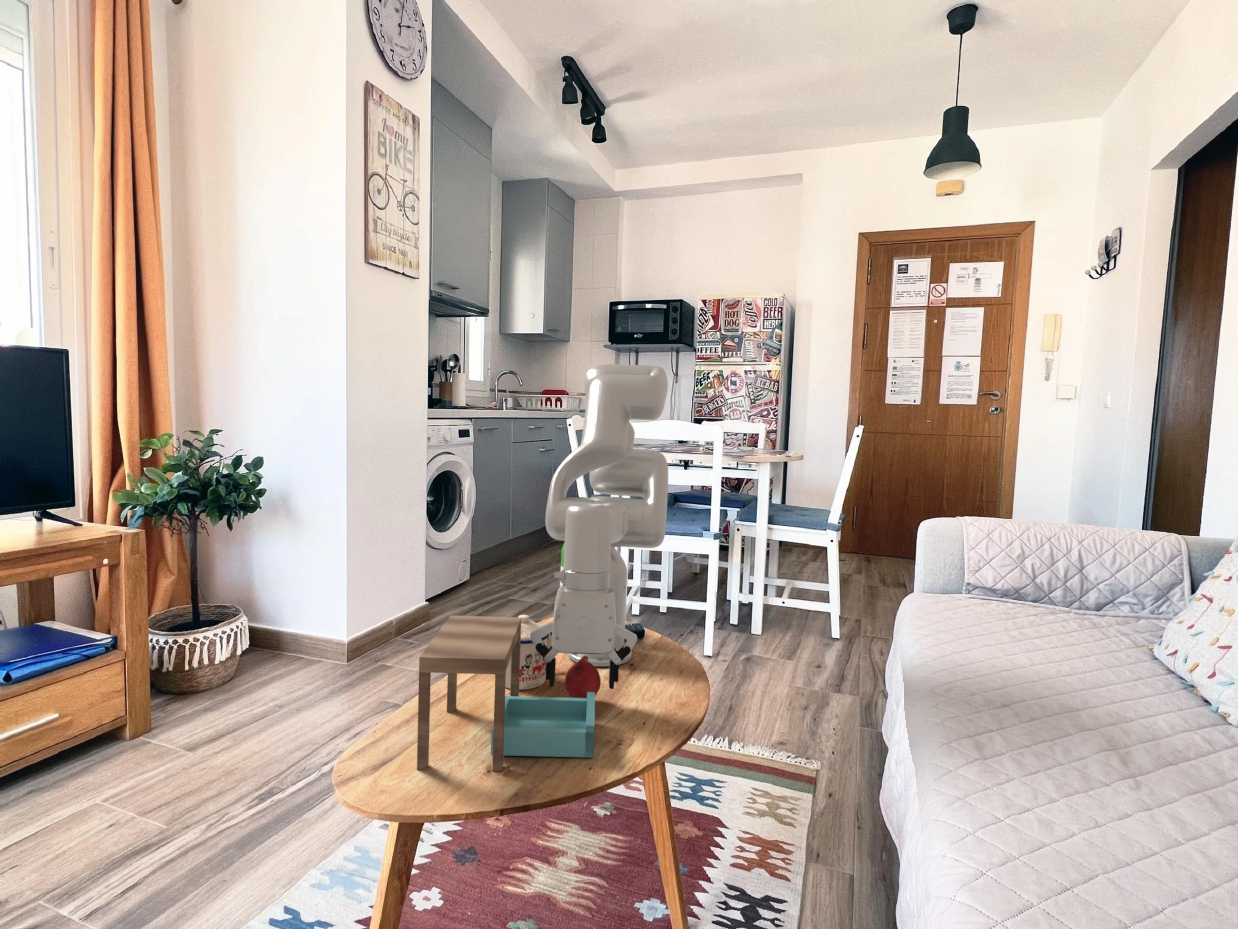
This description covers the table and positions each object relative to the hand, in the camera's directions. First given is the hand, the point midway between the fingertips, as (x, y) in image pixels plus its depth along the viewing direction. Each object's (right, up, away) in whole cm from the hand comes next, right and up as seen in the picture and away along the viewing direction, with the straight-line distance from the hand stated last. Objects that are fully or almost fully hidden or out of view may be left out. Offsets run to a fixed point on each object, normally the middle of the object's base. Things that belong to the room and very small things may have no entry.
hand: (581, 685), depth 105 cm
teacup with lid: (-10, -3, +11) cm, 15 cm away
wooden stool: (-15, -4, -11) cm, 19 cm away
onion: (0, -4, +1) cm, 4 cm away
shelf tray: (-5, -4, -11) cm, 13 cm away
